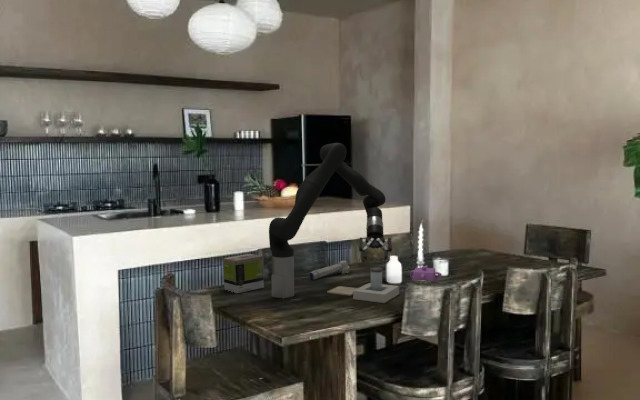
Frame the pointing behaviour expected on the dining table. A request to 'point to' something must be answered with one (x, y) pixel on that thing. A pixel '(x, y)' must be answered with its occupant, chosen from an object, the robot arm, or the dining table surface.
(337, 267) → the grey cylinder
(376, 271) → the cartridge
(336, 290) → the mat
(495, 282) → the dining table surface
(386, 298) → the housing
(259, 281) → the tea box
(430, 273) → the teapot
